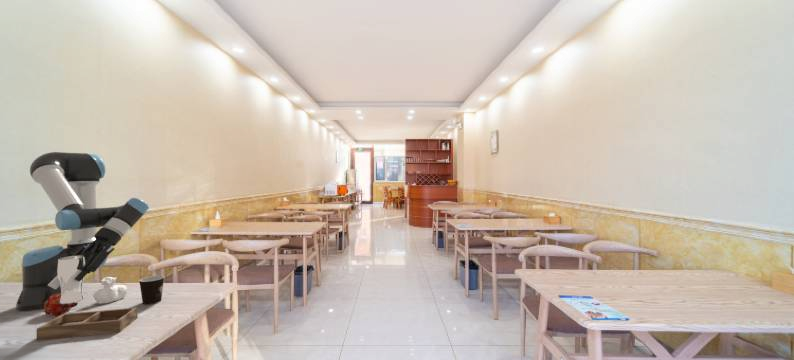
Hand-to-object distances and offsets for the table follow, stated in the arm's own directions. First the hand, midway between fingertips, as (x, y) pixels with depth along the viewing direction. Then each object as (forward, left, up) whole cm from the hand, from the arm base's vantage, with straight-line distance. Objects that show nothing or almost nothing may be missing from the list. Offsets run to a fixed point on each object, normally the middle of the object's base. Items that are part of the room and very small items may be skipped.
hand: (59, 288), depth 111 cm
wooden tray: (-3, +7, -16) cm, 18 cm away
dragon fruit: (-22, -13, -16) cm, 30 cm away
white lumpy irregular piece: (-33, -2, -16) cm, 37 cm away
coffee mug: (-28, +17, -16) cm, 37 cm away
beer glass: (-3, +2, -6) cm, 7 cm away
